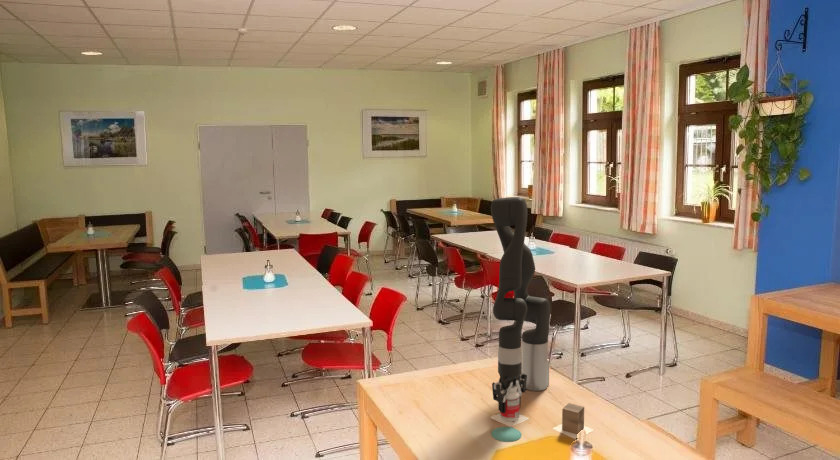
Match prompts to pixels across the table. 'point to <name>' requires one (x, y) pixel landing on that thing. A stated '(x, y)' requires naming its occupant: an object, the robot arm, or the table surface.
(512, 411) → the pill bottle
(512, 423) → the card
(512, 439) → the coaster
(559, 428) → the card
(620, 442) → the table surface
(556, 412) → the table surface
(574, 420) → the walnut block
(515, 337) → the robot arm
